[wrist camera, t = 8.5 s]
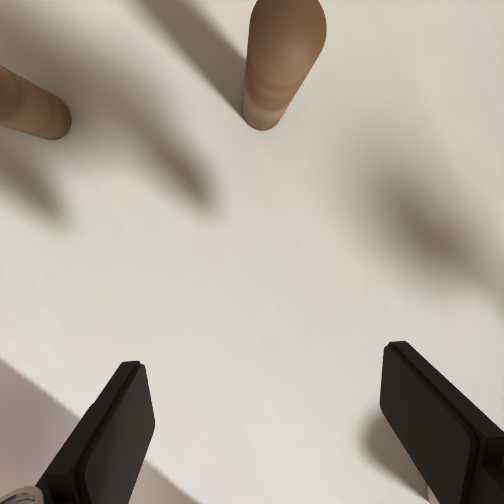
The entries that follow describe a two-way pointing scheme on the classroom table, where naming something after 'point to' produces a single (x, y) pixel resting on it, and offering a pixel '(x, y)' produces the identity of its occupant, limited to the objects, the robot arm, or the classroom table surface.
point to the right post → (279, 56)
